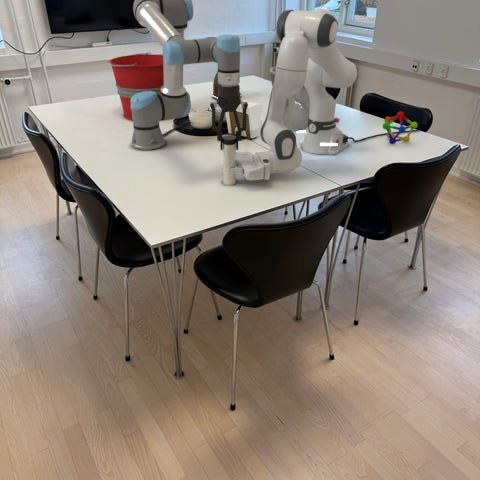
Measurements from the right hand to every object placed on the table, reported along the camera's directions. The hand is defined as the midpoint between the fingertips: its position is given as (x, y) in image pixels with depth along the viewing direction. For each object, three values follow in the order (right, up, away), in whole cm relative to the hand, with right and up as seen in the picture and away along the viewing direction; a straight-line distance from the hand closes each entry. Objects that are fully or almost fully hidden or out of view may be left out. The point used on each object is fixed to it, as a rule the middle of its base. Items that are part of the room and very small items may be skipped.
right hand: (227, 167), depth 168 cm
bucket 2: (+34, +33, +65) cm, 80 cm away
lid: (+1, +10, -6) cm, 11 cm away
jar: (+1, -5, +4) cm, 6 cm away
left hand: (+1, +6, -4) cm, 7 cm away
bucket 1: (-47, +43, +80) cm, 102 cm away
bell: (-4, +63, +113) cm, 130 cm away
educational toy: (+79, +19, +43) cm, 92 cm away
